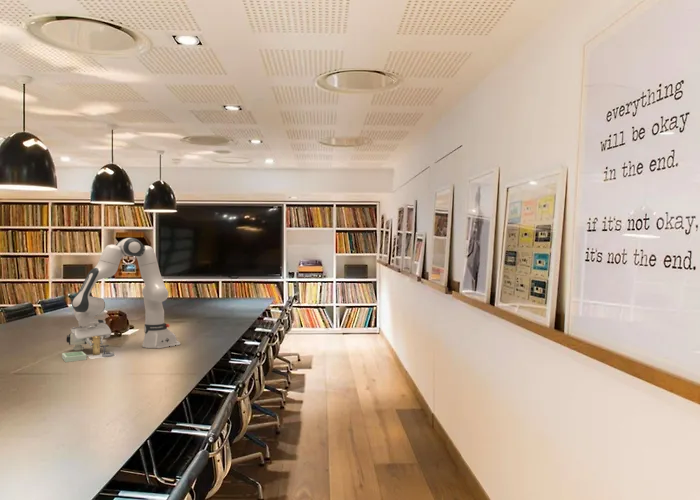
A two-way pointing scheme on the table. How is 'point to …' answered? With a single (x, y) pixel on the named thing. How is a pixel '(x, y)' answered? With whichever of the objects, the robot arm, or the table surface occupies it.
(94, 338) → the amber drinking glass
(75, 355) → the tray
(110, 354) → the crank jig
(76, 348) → the pneumatic valve
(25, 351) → the table surface
